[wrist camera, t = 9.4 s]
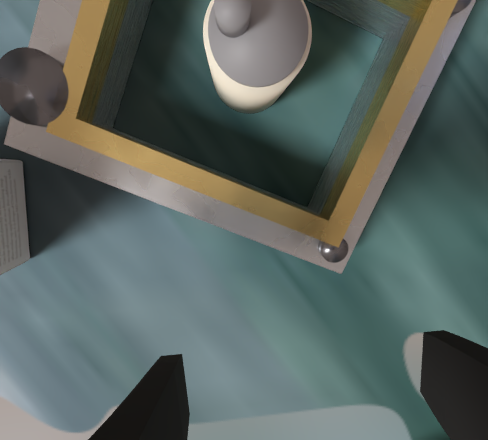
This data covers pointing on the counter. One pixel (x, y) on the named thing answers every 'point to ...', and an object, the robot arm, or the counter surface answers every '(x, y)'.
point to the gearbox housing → (202, 177)
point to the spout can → (255, 49)
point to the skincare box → (12, 216)
